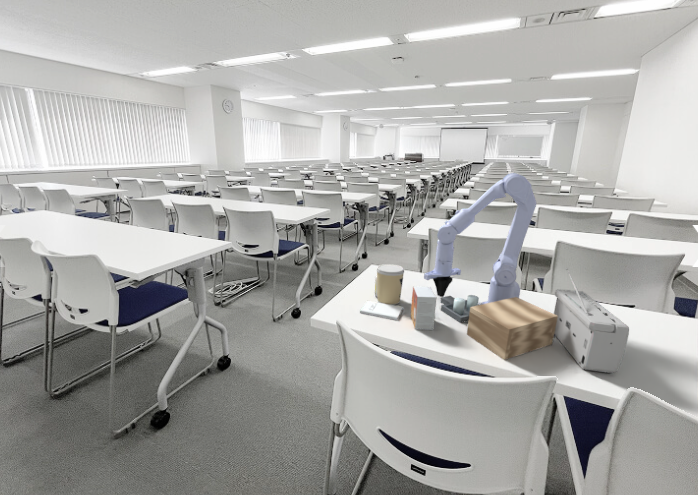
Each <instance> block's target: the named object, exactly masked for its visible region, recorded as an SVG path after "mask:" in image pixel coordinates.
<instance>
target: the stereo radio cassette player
mask: <svg viewBox="0 0 698 495" xmlns="http://www.w3.org/2000/svg"><path fill="white" fill-rule="evenodd" d="M565 270H566V271H567V272H568V273H567V274H568V275H569V278H570V281H571V283H572V286H573V288H574V290H571V289H555V291H554V296H555V297H556V301H555V304H554V305H555V306H554V311H553V314H555V315H557V316H558V318H557V323H556V327H555V332H554V336H555V337H556V338H557V339H558V340H559V342H560V343H561V344H562V346H564V348H565V349H566V350H567V352H568V353H569V354H570V355H571V356H572V358H573V359H574V360H575V362H577V364H578V365H579V367H580V368H581V369H582V370H584V369H585V370H586V371H593V372H601V373H606V372H607V373H606V374H608V373H609V374H612V373H618V370H619V368H620V366H621V364H622V360H623V357H624V355H625V351H626V347H627V343H628V339H629V335H630V327H629V325H627V324H626V323H624V322H623V320H621V319H620V318H618V317H617V316H615V315H614V314H613V313H611V312H610V311H609V310H608V309H606V308H605V307H604V306H602V305H601V304H600V303H599V302H597V301H596V300H595V299H594V298H593V297H591V296H590V295H588V293H586V292H584V291H583V290H578V288H577V286H576V284H575V282H574V281H575V280H574V279H573V278H572V275H571V273H570V271H569V267H566V268H565Z"/></svg>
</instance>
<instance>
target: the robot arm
mask: <svg viewBox="0 0 698 495" xmlns="http://www.w3.org/2000/svg"><path fill="white" fill-rule="evenodd" d="M506 194H507V195H508V196H510V197H511V198H512V200H513V202H515V204H516V206H517V207H516V209H515V212H514V216H513V218H512V221H511V223H510V226H509V231H508V234H507V235H506V239H505V242H504V246H503V248H502V251H501V252H500V254H499V257H498V258H497V260H496V261H495V262H494V263H493V265H492V273H493V276H492V277H491V278H490V283H489V290H488V297H487V298H488V299H487V300H486V301H482V302H481V305H482V304H487V303H491V302H495V301H500V300H504V299H509V298H513V297H517V298H520V294H521V287H520V285H519V283H518V282H517V281H516V279H517V273H516V270H517V267H518V258H519V255H520V252H521V249H522V247H523V244H524V241H525V238H526V236H527V234H528V233H527V232H528V229H529V226H530V225H531V221H532V218H533V215H534V213H535V210H536V207H537V200H536V197H535V195H534V190H533V186H532V183H531V182H530V181H529V180H528V179H527V177H526V176H524V175H522V174H519V173H517V172H516V173H515V172H510V173H508V174H506V175H505V176H504V177H503V178H502V179H500V180H498V181H497V182H495V183H494V184H493V185H491V186H490V187H489V188H488V189H487V190H486V191H485V192H484V193H483V194H482V195H481V196H480V197H479V198H478V199H476V201H475V202H474V203H472V204H471V205H470V206H469V207H468V208H461V209H460V210H459V209H457V210H456V211H455V214H454V215H453V216H452V217H451V218H450V219H449V220H445V222H444V224H443V225H441V226H440V227H439V229H438V231H437V234H436V236H437V242H436V243H437V245H436V251H435V260H434V261H435V262H434V268H433V269H432V270H431V271H428V272H425V273H424V274H423V279H424V280H426V281H430V280H432V281H433V283H434V285H435V289H436V295H437V296H439V297H440V298H441V297H445V294H446V293H447V292H446V291H447V290H448V287H450V284H451V283H452V282H453V277H452V276H455V275H457V276H461V275H462V274H461V272H462V270H461V269H460V268H458V267H454V268H453V260H454V250H455V247H454V243H455V241H456V238H457V235H460V234H462V233H463V232H464V231H465V230H466V229H467V228H468V227H469V226H471V225H472V224H473V223H474V222H475V221H476V216H477V215H478V214H479V213H480V212H481V211H483V210H484V209H485V208H486V207H488V206H489V205H490V204H491V203H492V202H493V201H495V200H497V199H503V198H507V196H506Z"/></svg>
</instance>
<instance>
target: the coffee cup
mask: <svg viewBox="0 0 698 495" xmlns="http://www.w3.org/2000/svg"><path fill="white" fill-rule="evenodd" d="M404 273H405V269H404V267H403V266H401V265H399V264H392V263H384V264H380V265H378V266H377V267H376V275H377V297H376V298H377V302H378V303H384V304H389V305H395V306H397V305H399V303H400V301H401V294H402V290H403V289H402V288H403V281H404Z"/></svg>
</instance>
